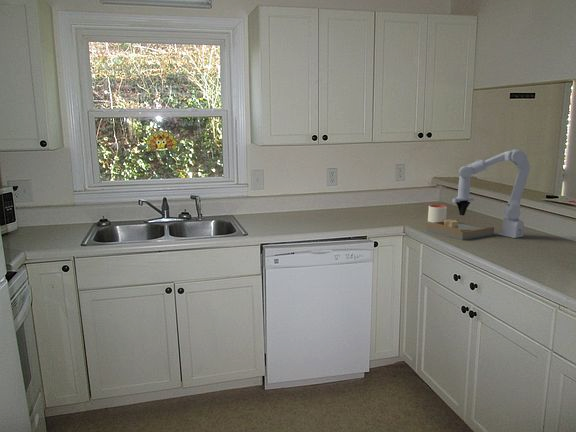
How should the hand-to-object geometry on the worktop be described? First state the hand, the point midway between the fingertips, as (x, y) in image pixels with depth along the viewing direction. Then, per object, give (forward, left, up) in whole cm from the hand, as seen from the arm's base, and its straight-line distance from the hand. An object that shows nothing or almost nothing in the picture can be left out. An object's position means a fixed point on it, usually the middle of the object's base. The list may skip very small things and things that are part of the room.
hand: (462, 215), depth 254 cm
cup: (+23, -7, -10) cm, 26 cm away
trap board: (0, +1, -9) cm, 9 cm away
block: (0, +8, -7) cm, 11 cm away
